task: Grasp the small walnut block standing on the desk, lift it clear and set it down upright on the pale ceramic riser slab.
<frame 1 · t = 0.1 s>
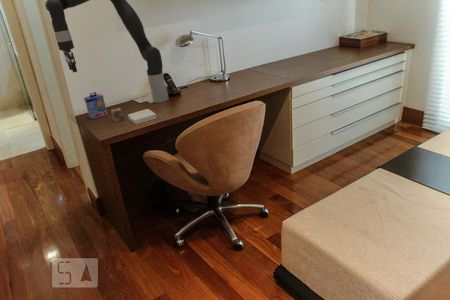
hand: (73, 70, 193), 29 cm above the table, fingers open, 8 cm apart
block: (118, 120, 202), on the table
riser: (142, 118, 200), on the table
ink cartridge box: (98, 116, 213), on the table
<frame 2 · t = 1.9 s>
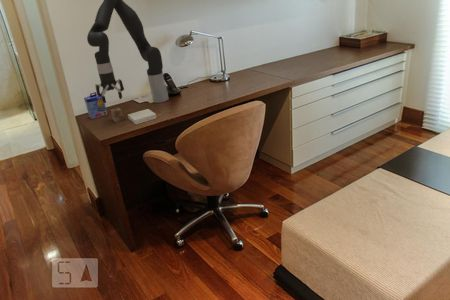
hand: (112, 100, 197), 11 cm above the table, fingers open, 8 cm apart
nothing on the table moved.
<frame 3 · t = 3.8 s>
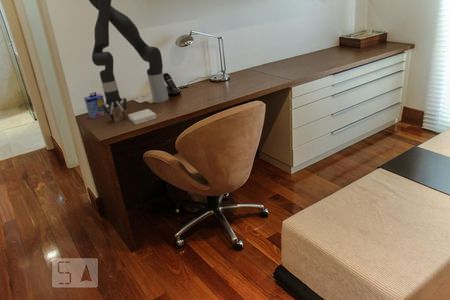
hand: (118, 118, 202), 1 cm above the table, fingers closed on block, 5 cm apart
block: (118, 119, 202), on the table, touching gripper
everything else where it was.
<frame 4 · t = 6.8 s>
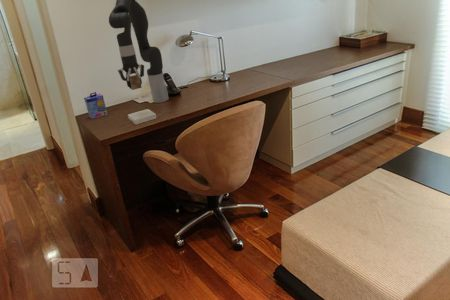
hand: (135, 86, 192), 19 cm above the table, fingers closed on block, 5 cm apart
block: (135, 87, 192), point 18 cm above the table, touching gripper
everything else where it was.
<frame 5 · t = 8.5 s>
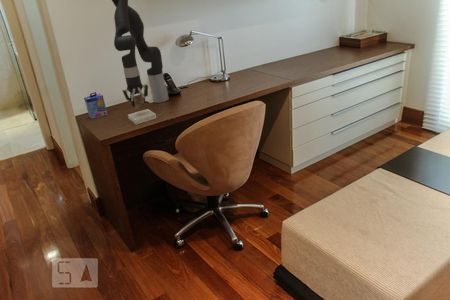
hand: (139, 105, 196), 8 cm above the table, fingers closed on block, 5 cm apart
block: (139, 107, 197), point 7 cm above the table, touching gripper
everything else where it was.
when the fingers open (5 cm above the table, at t = 10.0 s): block drops 1 cm, resting on riser.
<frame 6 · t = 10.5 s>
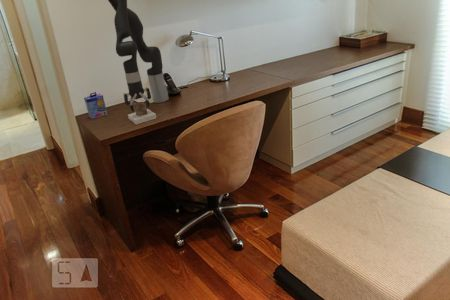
hand: (140, 109, 197), 6 cm above the table, fingers open, 8 cm apart
block: (141, 114, 199), point 3 cm above the table, touching riser
everything else where it was.
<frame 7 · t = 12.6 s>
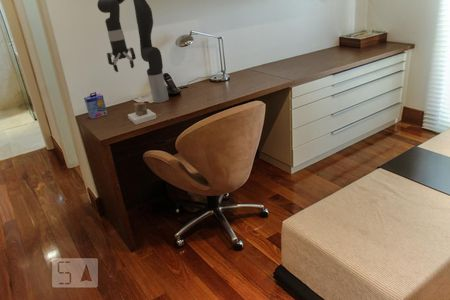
hand: (124, 69, 193), 27 cm above the table, fingers open, 8 cm apart
nothing on the table moved.
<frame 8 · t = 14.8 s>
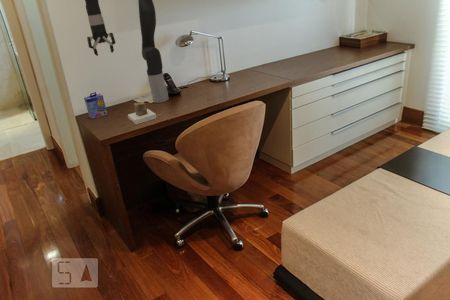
hand: (104, 53, 201), 34 cm above the table, fingers open, 8 cm apart
nothing on the table moved.
at the end: block inside the target area on the riser (0.1 cm from its centre), point 2.6 cm above the riser's base; block tilted 0°; the gripper is holding nothing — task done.
